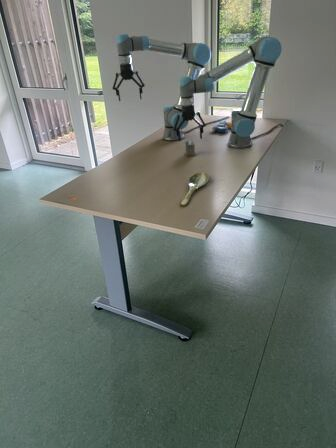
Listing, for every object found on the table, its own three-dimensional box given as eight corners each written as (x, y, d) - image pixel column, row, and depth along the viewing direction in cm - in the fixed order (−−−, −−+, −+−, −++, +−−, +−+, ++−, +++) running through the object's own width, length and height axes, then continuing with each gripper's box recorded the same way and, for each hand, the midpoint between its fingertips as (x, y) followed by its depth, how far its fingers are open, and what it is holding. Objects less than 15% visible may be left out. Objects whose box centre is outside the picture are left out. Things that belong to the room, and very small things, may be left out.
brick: (185, 153, 219) (185, 141, 215) (193, 152, 219) (192, 140, 215) (187, 156, 213) (186, 145, 209) (194, 155, 213) (194, 144, 209)
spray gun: (237, 125, 262) (219, 125, 268) (237, 120, 259) (219, 119, 266) (229, 134, 246) (210, 133, 253) (229, 128, 244) (210, 127, 250)
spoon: (193, 209, 156) (193, 205, 155) (172, 207, 159) (171, 203, 158) (212, 175, 182) (212, 172, 181) (193, 174, 186) (193, 170, 184)
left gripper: (104, 65, 200) (110, 102, 211) (146, 62, 200) (149, 99, 211) (105, 64, 206) (111, 100, 217) (146, 60, 206) (149, 96, 217)
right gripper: (167, 108, 197) (171, 143, 208) (209, 103, 196) (211, 138, 207) (166, 106, 203) (170, 140, 214) (207, 100, 203) (209, 135, 214)
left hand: (130, 99), depth 214 cm, fingers open, 13 cm apart
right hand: (190, 139), depth 211 cm, fingers open, 13 cm apart
